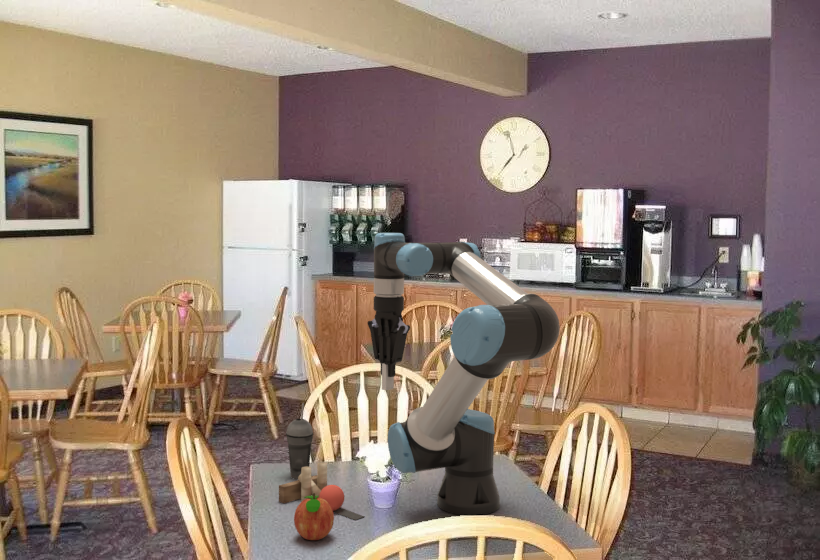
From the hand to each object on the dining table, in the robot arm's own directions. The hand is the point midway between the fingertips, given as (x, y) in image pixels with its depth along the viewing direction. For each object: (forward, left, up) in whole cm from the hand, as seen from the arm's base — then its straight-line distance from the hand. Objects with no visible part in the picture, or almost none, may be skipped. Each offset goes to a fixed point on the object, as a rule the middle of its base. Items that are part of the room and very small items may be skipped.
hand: (387, 389), depth 225 cm
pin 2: (+12, +12, -26) cm, 31 cm away
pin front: (+9, +16, -25) cm, 31 cm away
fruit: (+1, +35, -27) cm, 44 cm away
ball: (+6, +18, -23) cm, 30 cm away
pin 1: (+13, +17, -26) cm, 34 cm away
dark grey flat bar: (+2, +18, -26) cm, 32 cm away
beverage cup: (+26, -1, -27) cm, 37 cm away
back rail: (+18, +13, -26) cm, 34 cm away
